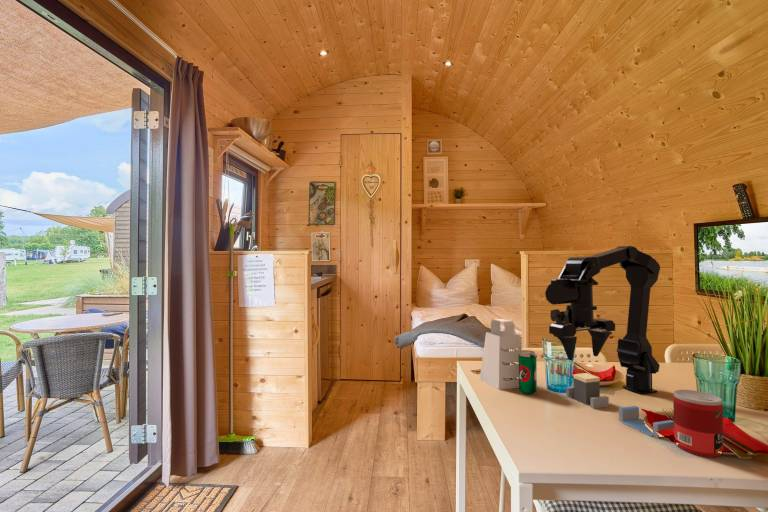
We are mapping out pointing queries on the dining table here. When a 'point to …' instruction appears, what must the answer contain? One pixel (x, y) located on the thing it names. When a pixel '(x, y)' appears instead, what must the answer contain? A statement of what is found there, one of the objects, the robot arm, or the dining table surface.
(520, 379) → the soda can
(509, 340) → the grater
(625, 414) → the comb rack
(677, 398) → the canned food
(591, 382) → the box with lid
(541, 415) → the dining table surface
